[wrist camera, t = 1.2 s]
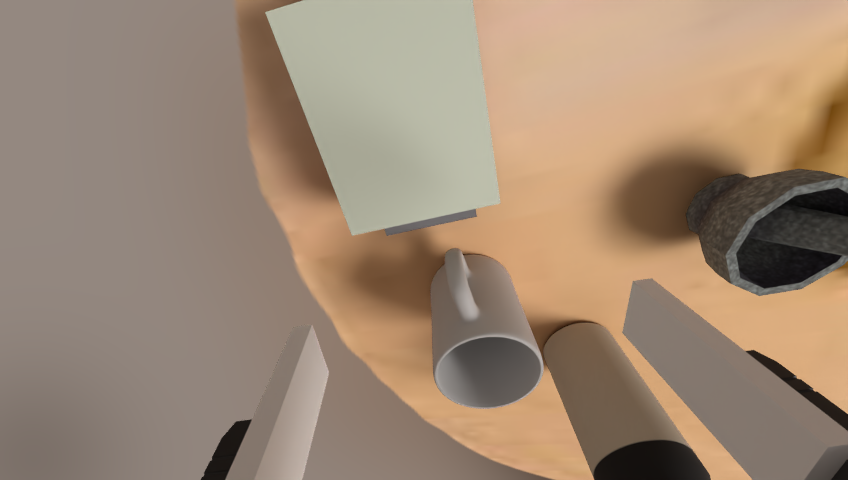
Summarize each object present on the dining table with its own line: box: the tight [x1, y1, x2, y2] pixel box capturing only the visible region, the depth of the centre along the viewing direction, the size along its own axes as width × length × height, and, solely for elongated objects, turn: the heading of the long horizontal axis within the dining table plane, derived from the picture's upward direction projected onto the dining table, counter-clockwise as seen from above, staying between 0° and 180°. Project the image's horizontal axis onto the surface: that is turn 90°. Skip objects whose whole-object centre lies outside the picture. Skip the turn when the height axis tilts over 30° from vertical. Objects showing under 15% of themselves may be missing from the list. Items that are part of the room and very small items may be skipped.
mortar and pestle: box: [686, 169, 848, 296], centre depth 24 cm, size 11×9×12 cm
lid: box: [265, 0, 500, 236], centre depth 22 cm, size 11×14×4 cm
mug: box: [430, 248, 543, 409], centre depth 28 cm, size 12×8×11 cm
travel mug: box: [543, 323, 711, 480], centre depth 30 cm, size 8×8×18 cm
